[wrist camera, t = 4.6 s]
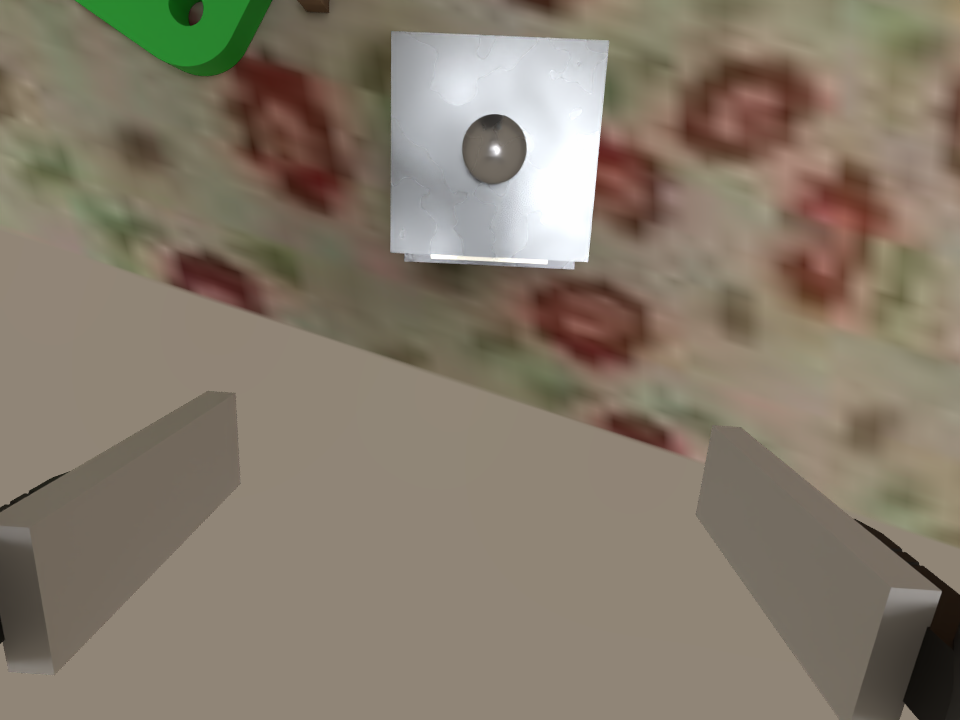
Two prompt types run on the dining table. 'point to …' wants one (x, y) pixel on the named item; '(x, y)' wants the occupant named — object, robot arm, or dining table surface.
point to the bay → (315, 5)
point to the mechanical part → (186, 29)
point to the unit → (494, 148)
